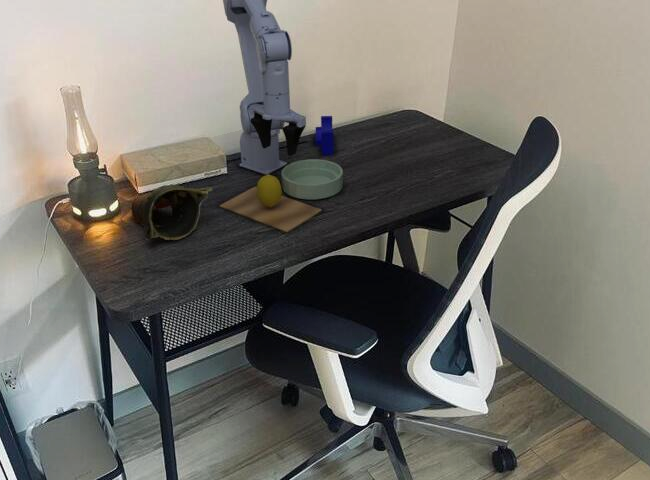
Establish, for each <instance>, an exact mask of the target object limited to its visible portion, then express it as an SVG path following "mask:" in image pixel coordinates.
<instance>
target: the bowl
mask: <svg viewBox="0 0 650 480" xmlns="http://www.w3.org/2000/svg"><path fill="white" fill-rule="evenodd" d="M343 171H344V170H343V168H342V166H341V165H339V164H337V163H336V162H334V161H330V160H326V159H318V158H312V159H311V158H309V159H301V160H296V161H294V162H290V163H289V164H287V165H285V166H283V167H282V170H281V174H280V175H281V176H280V178H281V189H282V191H283V192H284V193H286V195H288V196H290V197H293V198H296V199H300V200H321V199H327V198H331V197H333V196H335V195H337V194H338V193H340V192H341V191H342V189H343V187H344V186H343V184H344V183H343V182H344V175H343V174H344V172H343Z"/></svg>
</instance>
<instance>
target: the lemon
mask: <svg viewBox="0 0 650 480" xmlns="http://www.w3.org/2000/svg"><path fill="white" fill-rule="evenodd" d="M256 187H257V197H258V200H259V201H260V203H261V204H263V205H265V206H268V207H269V208H271V207H272V206H274V205H276V204H277V203H278V202H279V201H280V199H281V196H283V195H282V193H283V189H282V184H281V182H280V180H279V179H278V178H277V177H276V176H274V175H271V174H267V175H264V176H261V178H259V180H258V182H257V185H256Z"/></svg>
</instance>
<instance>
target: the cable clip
mask: <svg viewBox="0 0 650 480" xmlns="http://www.w3.org/2000/svg"><path fill="white" fill-rule="evenodd" d="M315 146H316V147H321V155H322V156H328V155H329V156H334V130H333V115H321V116H320V126H315Z"/></svg>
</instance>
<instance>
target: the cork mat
mask: <svg viewBox="0 0 650 480" xmlns="http://www.w3.org/2000/svg"><path fill="white" fill-rule="evenodd" d="M218 207H219V208H222V209H225V210H227V211H230V212H232V213H235V214H237V215H240V216H242V217H245V218H248V219H251V220H253V221H256V222H259V223H261V224H263V225H266V226H268V227H272V228H274V229H277V230H279V231H281V232H285V233H289V232H290V231H293V230H294V229H295V228H297V227H298V226H300V225H302V224H304V223H305V222H307V221H308V220H310V219H311V218H313V217H314V216H316V215H318V214H320V213H322V211H323V209H322V208H319V207H316V206H313V205H310V204H308V203H305V202H301V201H298V200H295V199H293V198H290V197H286V196H284V195H281V199H280V201H279V202H278V203H277V204H276V205H274V206H272V207H271V208H269V207H268V206H265V205H263V204H261V203H260V201H259V200H258V197H257V186H253V187H251V188H249V189H248V190H245V191H244V192H242V193H240V194H237V195H236V196H234V197H233V198H230V199H229V200H227V201H225V202H223V203H221V204H219V206H218Z"/></svg>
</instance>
